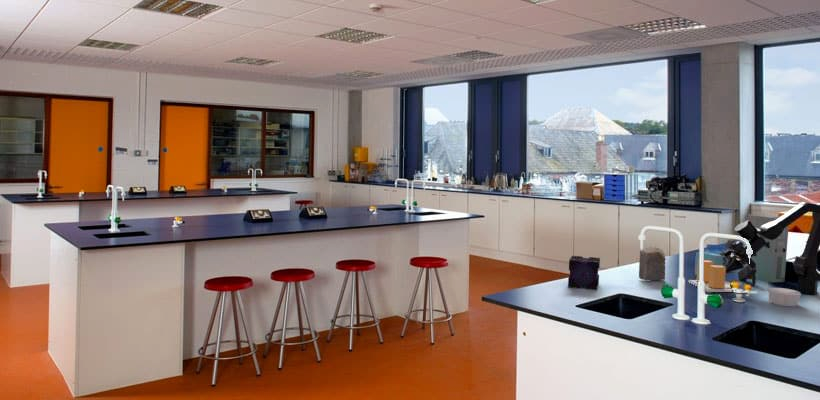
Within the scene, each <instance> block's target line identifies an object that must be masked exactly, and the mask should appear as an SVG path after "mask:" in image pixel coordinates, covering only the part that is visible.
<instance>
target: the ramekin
mask: <svg viewBox="0 0 820 400" xmlns="http://www.w3.org/2000/svg"><path fill="white" fill-rule="evenodd" d="M767 292H768V301H769V302H770V304H772V305H776V306H782V307H796V306H798V305H799V304H798V303H799V300H800V297H801V294H802V293H800V292H798V290H794V289H790V288H783V287H769V288H768V289H767Z"/></svg>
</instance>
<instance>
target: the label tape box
mask: <svg viewBox="0 0 820 400" xmlns="http://www.w3.org/2000/svg"><path fill="white" fill-rule="evenodd" d="M725 245H726V244H706V249H705V252H709V253H714V254H719V255H721V256H722V257H723V263H722V266H724V267H725V266H726V265H727V258H726V257H725V255H724V254H723V253H722V252H723V251H724V250H725Z"/></svg>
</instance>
